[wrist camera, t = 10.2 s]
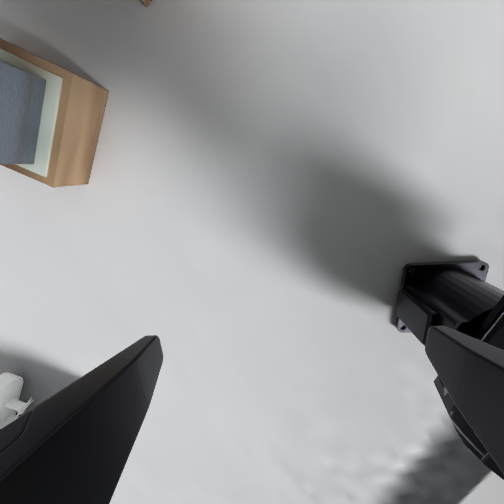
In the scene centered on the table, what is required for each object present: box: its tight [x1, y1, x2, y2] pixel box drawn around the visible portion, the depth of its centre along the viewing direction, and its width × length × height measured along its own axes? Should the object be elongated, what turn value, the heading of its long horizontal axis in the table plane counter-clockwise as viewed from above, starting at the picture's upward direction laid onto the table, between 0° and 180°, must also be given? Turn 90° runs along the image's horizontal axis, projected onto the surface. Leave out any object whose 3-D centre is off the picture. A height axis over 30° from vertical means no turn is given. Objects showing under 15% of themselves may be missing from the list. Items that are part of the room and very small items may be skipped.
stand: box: [0, 38, 109, 187], centre depth 17 cm, size 7×7×4 cm
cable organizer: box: [0, 372, 33, 429], centre depth 23 cm, size 15×11×12 cm
